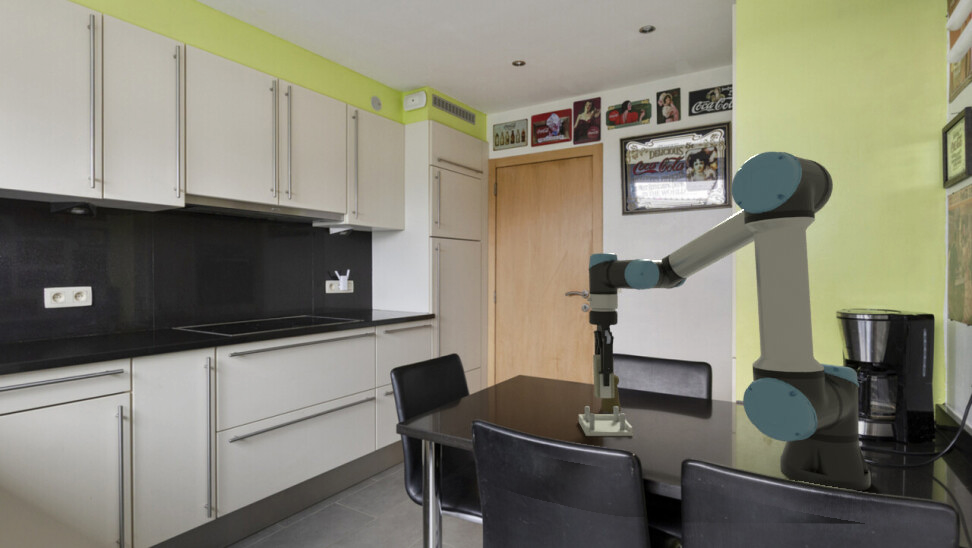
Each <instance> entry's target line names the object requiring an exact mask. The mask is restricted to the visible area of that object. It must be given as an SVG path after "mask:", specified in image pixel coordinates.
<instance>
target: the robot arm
mask: <svg viewBox="0 0 972 548" xmlns="http://www.w3.org/2000/svg"><path fill="white" fill-rule="evenodd" d="M733 176H734V177H733V179H732V181H731V196H732V198H733V201H734V203H735V204H736V205H737V206H738V207H739V208H740V209H741V210H740V211H737V212H736V213H734V214H733V215H731V216H730V217H728V218H726V219H724V220H723V221H721V222H720V223H718V224H717V225H715V226H713V227H711V229H708V230H707V231H705V232H703V233H702V234H700V235H699V236H697V237H695V238H694V239H692V240H690V241H689V242H687V243H686V244H684V245H683V246H681V247H679V248H677V249H676V250H674V251H673V252H671V253H670V254H668V255H666V256H664V257H663V258H662V259H658V260H657V259H656V260H654V259H646V258H635V259H622V260H621V259H620V260H619V259H618V255H617V254H616V253H612V252H610V253H609V252H604V253H602V252H601V253H598V252H597V253H592V254H591V255H590V256H589V262H588V263H589V265H588V277H589V278H588V282H589V283H588V286H589V289H588V290H589V293H588V294H589V296H588V297H587V300H586V301H588V302H589V307H588V308H589V309H591V310H589V314H588V317H589V319H588V320H589V321H588V322H589V324H590V325H594V326H596V329H595V330H594V331H593V335H594V355H600V356H601V372H599V374H600V398H599V399H602V398H611V373H613V357H614V339H615V337H614V335H613V332H612V331H611V326H616V325H618V318H619V316H618V311H617V310H616V309H618V308H619V302H618V301H619V300H618V299H619V297H618V295H619V294H618V289H622V290H623V289H625V290H639V291H640V290H643V291H644V290H651V289H666V290H670V289H675V288H679V287H681V286H683V285H684V283H685V282H686V280H687V279H688V278H689V277H692V276H693V275H695V274H696V273H699V272H700V271H702V270H703V269H706V268H707V267H710V266H711V265H713V264H715V263H717V262H719V261H720V260H722V259H724V258H725V257H728V256H729V255H731V254H733V253H735V252H737V251H739V250H741V249H742V248H744V247H746V246H747V245H749V244H751V243H754V257H755V275H756V277H755V278H756V291H757V292H756V294H757V295H756V296H757V311H758V312H757V313H758V331H759V345H760V346H759V347H760V348H759V349H760V350H759V351H760V356H759V357H758V358H757V359H756V360H755V361H753V363H752V377H753V378H752V379H753V380H752V382H751V383H750V384H749V385H748V387H746V388H745V390H744V393H743V397H742V405H743V409H744V412H745V415H746V416H747V418H748V420H749V422H750V423H751V424H752V425H754V427H756V429H758V431H759V432H761V433H762V435H765V436H767V437H769V438H771V439H773V440H776V441H780V442H786V443H785V444H784V447H783V450H782V453H781V455H780V457H779V458H780V460H779V461H780V462H779V464H780V465H779V466H780V467H779V468H780V470H781V472H782V473H783V474H784V475H786V476H787V477H789V478H790V479H793V480H795V481H797V480H799V481H804V482H809V483H814V484H820V485H825V486H832V487H838V488H846V489H853V490H860V491H859V492H862V491H865V490H868V489H870V487H871V486H872V481H871V480H872V479H871V476H872V475H871V471H870V469H869V466H868V464H867V461H866V458H865V456H864V453H863V451H862V449H861V446H860V441H859V437H860V435H859V433H860V432H859V431H860V430H859V388H860V384H859V380H858V374H857V371H856V370H855V369H853V368H852V367H848V366H842V365H834V364H827V363H820V362H819V361H818V360H817V359H815V356H814V344H813V343H814V341H813V340H814V339H813V328H812V326H813V325H812V311H811V309H812V308H811V295H810V277H809V276H810V275H809V261H808V243H807V232H806V231H807V229H808V228H809V227H810V226H811V225H812V224H813V223H814V222H815V221H816V214H817V213H818V212H820V210H822V209H823V208H824V207H825V206H826V205H827V203H828V202H829V201H830V199H831V196H832V193H833V190H834V188H833V187H834V184H833V183H834V182H833V179H832V175H831V174H830V172H829V171H828V170H827V168H826V167H825V166H824V165H822V164H821V163H819V162H817V161H816V160H812V159H808V158H804V157H803V158H802V157H798V156H795V155H793V154H792V153H789V152H785V151H764V152H760V153H757V154H756V155H754V156H751V157H750V158H748V159H747V160H745V162H743V164H742V165H741V166H740V167H739V169H737V171H736V172H735V174H734V175H733ZM799 481H798V482H799Z"/></svg>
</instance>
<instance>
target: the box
mask: <svg viewBox="0 0 972 548" xmlns="http://www.w3.org/2000/svg"><path fill="white" fill-rule="evenodd" d="M614 359H615V358H614V356H613V373H611V398H615V393H614V375H615V374H614V373H615V366H614V365H615V364H614V362H615V360H614ZM592 360H593V361H592V362H593V364H592V366H593V367H592V368H593V396H594V397H595V398H596V399H601V398H600V374H599V372H601V356H600V355H595V354H593V355H592Z"/></svg>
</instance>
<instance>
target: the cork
mask: <svg viewBox="0 0 972 548" xmlns="http://www.w3.org/2000/svg"><path fill="white" fill-rule="evenodd" d="M619 383H620V379H619V376H618V375H617V374H614V393H615V398H601V403H600V404H601V405H600V410H601V411H602V412H604V413H611V414H614V413H613V407H614V406H618V407H619V412H620V413H621V411H622V409H621V403H620V397H619V396H620V394H619V389H618V385H619Z"/></svg>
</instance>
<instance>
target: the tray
mask: <svg viewBox="0 0 972 548" xmlns="http://www.w3.org/2000/svg"><path fill="white" fill-rule="evenodd" d="M590 409H591V407H590V406H589V405H586V406H584V413H583V414H581V413H579V414H578V423H579V425H580V427H581V428H582V430H583V433H584V434H585V436H586V437H633V436H634V434H633V432H634V431H633V430H634V427H633V426H632V425H631V424H630V423H629V422H628V421H627V419H626V414H625V413H624V412H622V413H621V412H620V413H619V407H618V406H614V407H613V413H611V414H608V413H607V414H606V413H605V414H601V413H600V414H599V413H598V414H595V413H593V412H591V410H590Z"/></svg>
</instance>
